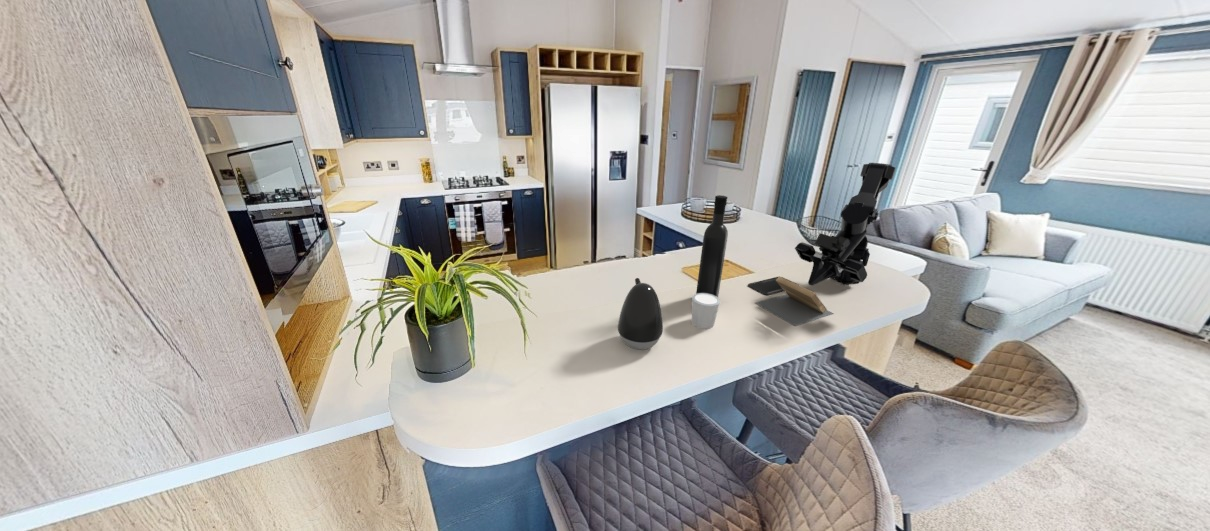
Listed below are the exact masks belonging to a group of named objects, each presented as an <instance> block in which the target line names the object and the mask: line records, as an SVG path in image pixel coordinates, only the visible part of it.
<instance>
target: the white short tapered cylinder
mask: <svg viewBox="0 0 1210 531" xmlns="http://www.w3.org/2000/svg"><path fill="white" fill-rule="evenodd" d="M720 303H721V299H720V298H719V296H718V297H716V296H714V295H712V294H708V293H697V294H696V293H695V294H693V295H692V297H691V324H692V325H693V326H694V327H695V328H698V329H705V330H709V329H712V328H714V326H715V322H716V319H717V316H718V315H717V314H718V312H719V308H720V305H721V304H720Z"/></svg>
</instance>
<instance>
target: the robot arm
mask: <svg viewBox="0 0 1210 531" xmlns="http://www.w3.org/2000/svg"><path fill="white" fill-rule="evenodd" d="M896 169H897V168H896V167H895V166H893V164H891V163H890V164H889V163H883V162H881V163H880V162H879V163H878V162H868V163H865V164H863V165H862V168H861V172H860V175H859V176H860V177H862V178H861V186H860V188H859V191H858V193H857V194H855V195H854V196H852V197H851V198H850V200H849V202H848V204H845V205H844V207H843V209H842V210H841V212H840V218H841V219H840V220H841V222H840V230H839V231H838V232H837V234H836V235H831V236H830V235H827V234H825V233H821V232H820V233H819V234H818V236H817V238H816V239H815V242H814V243H813V244H814V245H816V246H819V247H818V249H819V251H817V250H816V249H815V247H814V245H811V244H808V243H805V242H803V241H802V242H799V243H798V244H797V245H796V246H795V247H794V250H795V252H796V253H797V255H798V256H799V258H800V259H801V260H803V261H805V262H808V263H813V265H812V268H811V272H810V276H809V279H808V282H807V283H808V285H809V286H815V285H817V284H819V283H821V282H823V281H825V280H828V279H833V280H836V281H837V282H839V283H841V284H843V285H846V284H847V285H849V284H857V283H864V281H865V280H866V279H867V276H868V272H867V270H866V268H865V267H867V265H868V262H869V258H870V255H871V254H870V252H869V248H868V244H869V241H868V238H867V233H868V231H867V230H868V227H869V225H870V224H871V223H874V221H875V222H876V221H877V220H878V217H879V215H880V214H879V210H878V208H876V206H877V204H878V203H877V202H878V198H879V195H880V193H881V192H882V191H884V190H885V189H887V187H888V186H889V182H890V181H892V180H893V178H894V176H895V173H896Z"/></svg>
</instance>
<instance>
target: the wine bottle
mask: <svg viewBox="0 0 1210 531" xmlns="http://www.w3.org/2000/svg"><path fill="white" fill-rule="evenodd" d="M727 202H728V196H727V195H715V197H714V208H713V214H712V222H711V223H710V224H709V225H708V226H707V227H706V229H705V230H704V233H703V239H702V247H701V253H700V262H699V269H698V270H699V271H698V276H697V284H696V292H695V294H697V293H708V294H712V295H714V296H716V297H718V298H719V296H720V295H719V294H720V288H721V281H722V275H723V268H724V262H725V255H726V251H727V250H726V249H727V243H728V237H729V236H728V235H729V233H728V232H729V231H728V229H727V226H725V224H724V221H725V220H724V219H725V212H726V206H727Z"/></svg>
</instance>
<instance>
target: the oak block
mask: <svg viewBox="0 0 1210 531" xmlns="http://www.w3.org/2000/svg"><path fill="white" fill-rule="evenodd" d="M777 277H778V278H777V279H776V281H777V283H778V284H779V285H780V286H781V287H782V288H783V290H784V291H783V292H785V294H786V295H787V294H788V296H789V297H791V298H793V299H795V300H797V301H799V302H801V303H803V304H805V305H807V306H809V307H811V308H813V309H815V310H817V311H819V312H821V313H823V314H824V312H825V311H826V310H828V308H827V307H826V306H825V304H824V303H823V302H822V301H821V299H820V298H819V297H818V296H817V294H816V293H815V292H814V291H812V290H810V289H807V288H806V287H803V286H802V285H800V284H798V283H796V282H794V281H792V282H791V280H790V279H788V280H786V279H787V278H785V277H783V276H777ZM782 277H783V278H782ZM784 278H785V279H784ZM789 280H790V281H789ZM793 282H794V283H793ZM795 283H796V284H795ZM797 284H798V285H797Z"/></svg>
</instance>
